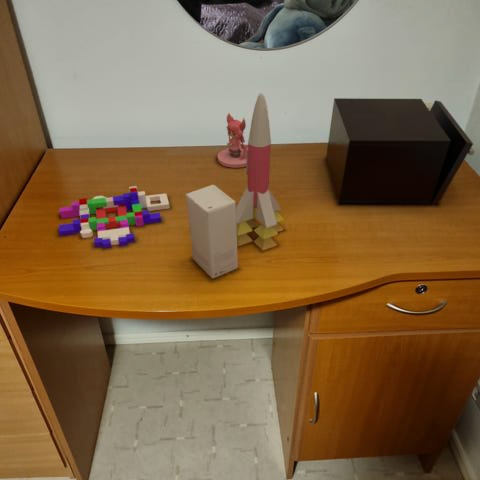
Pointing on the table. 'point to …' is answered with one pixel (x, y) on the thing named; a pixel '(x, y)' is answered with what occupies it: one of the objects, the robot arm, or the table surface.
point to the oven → (385, 151)
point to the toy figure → (234, 145)
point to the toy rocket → (258, 185)
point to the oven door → (450, 149)
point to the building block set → (124, 219)
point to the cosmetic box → (213, 230)
